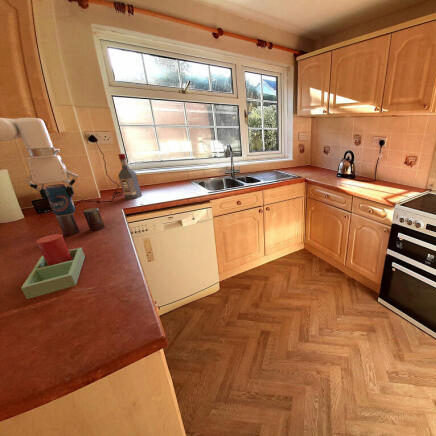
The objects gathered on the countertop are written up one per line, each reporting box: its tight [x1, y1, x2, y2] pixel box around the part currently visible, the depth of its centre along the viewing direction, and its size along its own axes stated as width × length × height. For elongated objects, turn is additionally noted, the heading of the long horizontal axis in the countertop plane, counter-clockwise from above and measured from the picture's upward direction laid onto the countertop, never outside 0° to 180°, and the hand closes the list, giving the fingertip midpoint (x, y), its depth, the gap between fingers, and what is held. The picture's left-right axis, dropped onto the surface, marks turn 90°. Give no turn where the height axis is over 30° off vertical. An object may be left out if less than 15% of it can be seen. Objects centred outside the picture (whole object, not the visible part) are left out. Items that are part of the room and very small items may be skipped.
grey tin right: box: [82, 207, 106, 232], centre depth 121 cm, size 6×6×10 cm
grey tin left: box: [55, 213, 81, 237], centre depth 116 cm, size 6×6×10 cm
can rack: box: [20, 247, 86, 300], centre depth 83 cm, size 12×22×5 cm, turn 32°
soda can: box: [44, 183, 76, 216], centre depth 99 cm, size 7×7×12 cm
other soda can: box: [35, 233, 73, 266], centre depth 86 cm, size 7×7×12 cm
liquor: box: [118, 153, 143, 200], centre depth 168 cm, size 9×9×30 cm
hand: (59, 197), depth 99 cm, fingers closed on soda can, 7 cm apart
